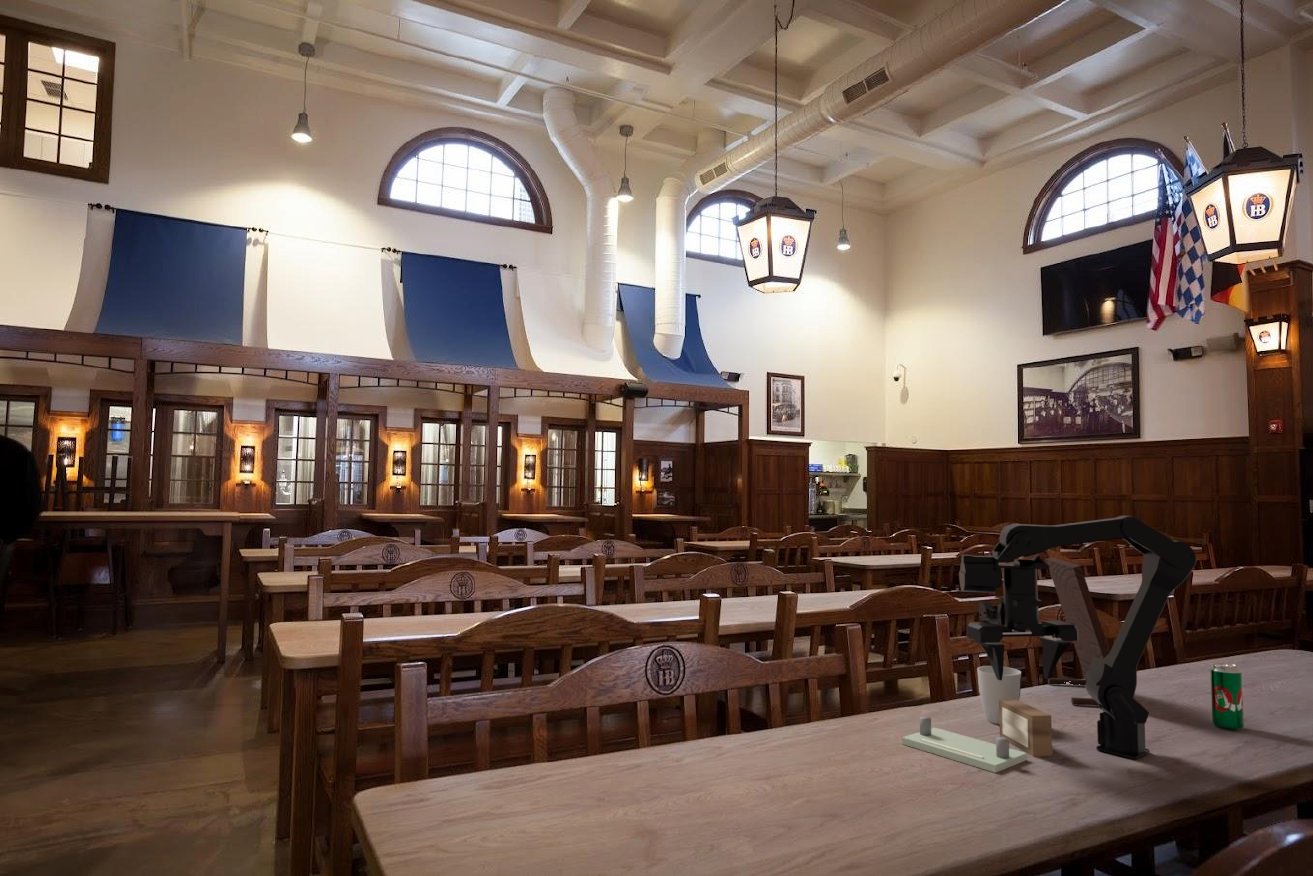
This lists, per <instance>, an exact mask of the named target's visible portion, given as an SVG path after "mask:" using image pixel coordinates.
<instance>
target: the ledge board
mask: <svg viewBox="0 0 1313 876" xmlns="http://www.w3.org/2000/svg"><path fill="white" fill-rule="evenodd" d="M901 741H902V742H901V744H902V745H903V746H908V747H911V748H914V749H917V750H920V751H923V752H926V753H927V752H928V753H929V754H930V753H931V754H932V755H937V756H940V757H943V758H946V759H949V760H953V761H956V762H960V763H962V764H966V765H969V766H972V767H976V768H978V769H982V770H985V771H988V772H991V773H998V772H1001V771H1004V770H1006V769H1008V768H1011V767H1013V766H1015V765H1019V764H1021V763H1023V762H1026V761H1027V760H1028V755H1027V754H1028V753H1026V752H1024V751H1022V750H1017V749H1013V748H1010V743H1009V739H1008V738H1006V737H1000V736H996V737H995V743H991V742H987V741H984V740H981V739H978V738H974V737H971V736H967V735H963V734H959V733H956V732H952V731H949V730H946V729H943V728H937V727H934V726H933V727H932V717H930V716H924V715H921V716H919V731H918V732H915V733H912V734H908V735H906V736H903V737H902V738H901Z"/></svg>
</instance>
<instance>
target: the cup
mask: <svg viewBox="0 0 1313 876" xmlns="http://www.w3.org/2000/svg"><path fill="white" fill-rule="evenodd" d="M976 669H977V681H978V683H977V684H978V691H979V697H980V702H981V706H982V709H983V713H984V715H985V718H986V721H987V722H989V723H992V724H995V725H1000V722H999V700H1019V701H1020V699H1021V698H1020V697H1021V689H1022V688H1021V685H1022V671H1021V670H1018V669H1016V668H1013V667H1008V666H1003V676H1002V680H1001V681H1000V680H997V678H996V676H995V673H994V670H993V668H992V665H982V666H979V667H977V668H976Z"/></svg>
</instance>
